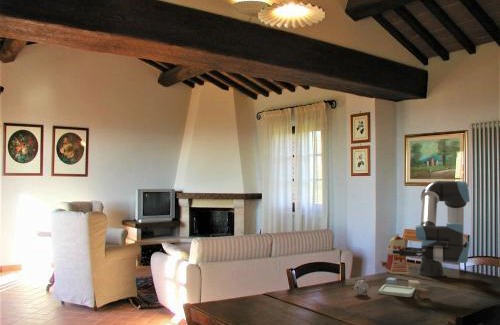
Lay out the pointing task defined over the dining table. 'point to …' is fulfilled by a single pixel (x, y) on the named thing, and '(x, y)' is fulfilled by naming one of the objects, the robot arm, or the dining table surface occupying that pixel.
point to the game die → (361, 287)
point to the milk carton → (397, 257)
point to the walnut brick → (422, 293)
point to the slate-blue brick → (391, 281)
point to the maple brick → (414, 284)
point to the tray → (397, 290)
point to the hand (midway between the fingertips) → (388, 249)
